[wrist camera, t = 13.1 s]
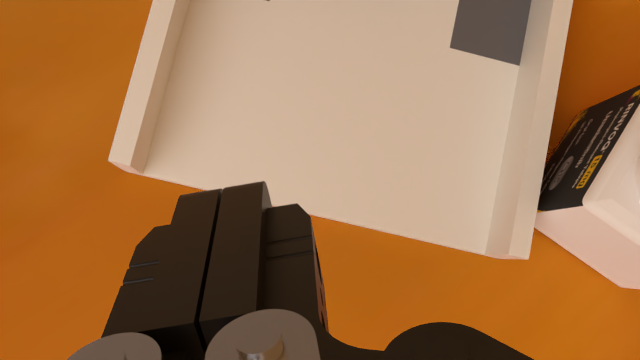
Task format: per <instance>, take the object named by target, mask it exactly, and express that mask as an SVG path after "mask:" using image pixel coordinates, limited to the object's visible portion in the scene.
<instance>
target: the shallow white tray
mask: <svg viewBox="0 0 640 360" xmlns="http://www.w3.org/2000/svg"><path fill="white" fill-rule="evenodd" d="M458 4H459V0H270V1H266V0H153V2H152V6H151V9H150V13H149V16H148V20H147V24H146V27H145V31H144V34H143V38H142V41H141V45H140V48H139V52H138V55H137V59H136V63H135V66H134V70H133V73H132V77H131V80H130V84H129V87H128V91H127V94H126V98H125V102H124V105H123V109H122V112H121V116H120V119H119V123H118V126H117V130H116V133H115V137H114V141H113V144H112V148H111V151H110V155H109V158H108V161H109V162H111V163H113V164H114V165H116V166H117V167H119V168H121V169H122V170H124V171H126V172H130V173H134V174H138V175H142V176H147V177H151V178H155V179H159V180H164V181H168V182H172V183H177V184H181V185H185V186H189V187H194V188H198V189H202V190H206V191H208V190H214V189H220V188H221V189H224V188H225V187H231V186H237V185H243V184H249V183H255V182H261V181H265V182H266V185H267V188H268V191H269V195H270V200H271V204H272V206H275V207H277V206H283V205H289V204H295V203H298V204H299V205H300V206H301V207H302V208H303V209H304V211H305V212H306V213H307V214H309V215H313V216H318V217H322V218H326V219H330V220H335V221H339V222H343V223H348V224H352V225H356V226H360V227H365V228H369V229H373V230H377V231H382V232H386V233H390V234H395V235H399V236H403V237H407V238H412V239H416V240H420V241H424V242H429V243H433V244H437V245H442V246H446V247H450V248H454V249H459V250H463V251H467V252H471V253H476V254H480V255H484V256H489V257H493V258H497V259H529V254H530V248H531V242H532V236H533V231H534V225H535V219H536V213H537V207H538V202H539V196H540V190H541V184H542V178H543V173H544V167H545V161H546V155H547V149H548V144H549V138H550V132H551V126H552V121H553V115H554V109H555V103H556V97H557V92H558V86H559V80H560V74H561V68H562V63H563V57H564V51H565V45H566V39H567V34H568V28H569V22H570V16H571V10H572V5H573V0H532V1H531V6H530V12H529V17H528V23H527V28H526V34H525V39H524V45H523V50H522V55H521V61H520V66H518V65H514V64H510V63H506V62H502V61H499V60H495V59H491V58H487V57H483V56H479V55H475V54H471V53H468V52H464V51H460V50H456V49H452V48H450V43H451V38H452V33H453V28H454V23H455V18H456V13H457V8H458Z"/></svg>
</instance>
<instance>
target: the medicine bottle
mask: <svg viewBox="0 0 640 360" xmlns="http://www.w3.org/2000/svg"><path fill="white" fill-rule="evenodd" d="M534 227H535V228H536V229H537V230H539V231H540V232H542V233H543V234H545V235H546V236H547V237H549V238H550V239H552V240H553V241H555V242H556V243H557V244H559V245H560V246H562V247H563V248H565V249H566V250H567V251H569V252H570V253H572V254H573V255H575V256H576V257H577V258H579V259H580V260H582V261H583V262H585V263H586V264H588V265H589V266H590V267H592V268H593V269H595V270H596V271H598V272H599V273H600V274H602V275H603V276H605V277H606V278H608V279H609V280H610V281H612V282H613V283H615V284H616V285H618V286H619V287H622V288H632V289H640V85H639V86H637V87H634V88H632V89H630V90H628V91H626V92H623V93H621V94H619V95H617V96H614V97H612V98H610V99H608V100H605V101H603V102H601V103H599V104H596V105H594V106H592V107H590V108H587V109H585V110H583V111H581V112H580V113H579V114H578V115H577V116H576V118H575V120H574V121H573V123H572V124H571V126H570V128H569V129H568V131H567V132H566V134H565V136H564V137H563V139H562V140H561V142H560V144H559V145H558V147H557V148H556V150H555V152H554V153H553V155H552V156H551V158H550V160H549V161H548V163H547V165H546V166H545V168H544V173H543V178H542V184H541V190H540V196H539V202H538V207H537V213H536V219H535V225H534Z"/></svg>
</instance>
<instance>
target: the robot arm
mask: <svg viewBox="0 0 640 360" xmlns="http://www.w3.org/2000/svg"><path fill="white" fill-rule="evenodd" d="M67 360H534V359H532V358H530V357H528V356H526V355H524V354H522V353H520V352H518V351H517V350H515V349H513V348H511V347H509V346H507V345H505V344H503V343H501V342H499V341H497V340H496V339H494V338H492V337H490V336H488V335H486V334H484V333H482V332H480V331H478V330H476V329H474V328H471V327H468V326H465V325H462V324H456V323H447V322H437V323H428V324H423V325H419V326H416V327H413V328H411V329H409V330H407V331H405V332H403V333H401V334H400V335H398V336H397V337H396V338H395V339H394V340H392V341H391V342H390V343H389V345H388V346H387V348H386V349H385V351H378V350H368V349H362V348H357V347H353V346H350V345H347V344H345V343H342V342H340V341H339V340H337V339H335V338H334V337H332V336H331V335H330V334H329V330H328V320H327V310H326V301H325V291H324V283H323V278H322V273H321V268H320V263H319V258H318V253H317V248H316V242H315V237H314V232H313V227H312V222H311V217H310V216H309V215H308V214H307V213H306V212H305V211H304V209H303V208H302V207H301V206H300V205H299V204H298V203H295V204H289V205H283V206H277V207H272V204H271V200H270V195H269V191H268V188H267V185H266V182H265V181H261V182H255V183H249V184H243V185H237V186H231V187H225V188H224V189H221V188H220V189H214V190H208V191H202V192H196V193H190V194H184V195H180V196H179V199H178V202H177V205H176V208H175V211H174V215H173V218H172V221H171V224H170V225H164V226H158V227H154V228H153V229H152V230H151V231H150V232H149V233H148V234H147V235H146V237H145V238H144V239H143V240H142V241H141V242H140V243H139V244H138V245H137V246H136V248H135V251H134V254H133V256H132V259H131V261H130V264H129V269H127V272H126V274H125V277H124V280H123V286H121V287H120V290H119V293H118V295H117V298H116V300H115V303H114V306H113V308H112V311H111V313H110V316H109V319H108V321H107V324H106V326H105V329H104V332H103V334H102V337H101V339H98V340H96V341H94V342H92V343H90V344H88V345H86V346H84V347H83V348H81V349H80V350H78V351H77V352H75V353H74V354H73V355H72V356H70V357H69V358H68V359H67Z"/></svg>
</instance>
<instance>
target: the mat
mask: <svg viewBox="0 0 640 360" xmlns="http://www.w3.org/2000/svg"><path fill="white" fill-rule="evenodd" d="M531 1H532V0H459V4H458V8H457V13H456V18H455V23H454V28H453V33H452V38H451V43H450V48H452V49H456V50H460V51H464V52H468V53H471V54H475V55H479V56H483V57H487V58H491V59H495V60H499V61H502V62H506V63H510V64H514V65H518V66H520V61H521V55H522V50H523V45H524V39H525V34H526V28H527V23H528V17H529V12H530V6H531Z"/></svg>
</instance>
